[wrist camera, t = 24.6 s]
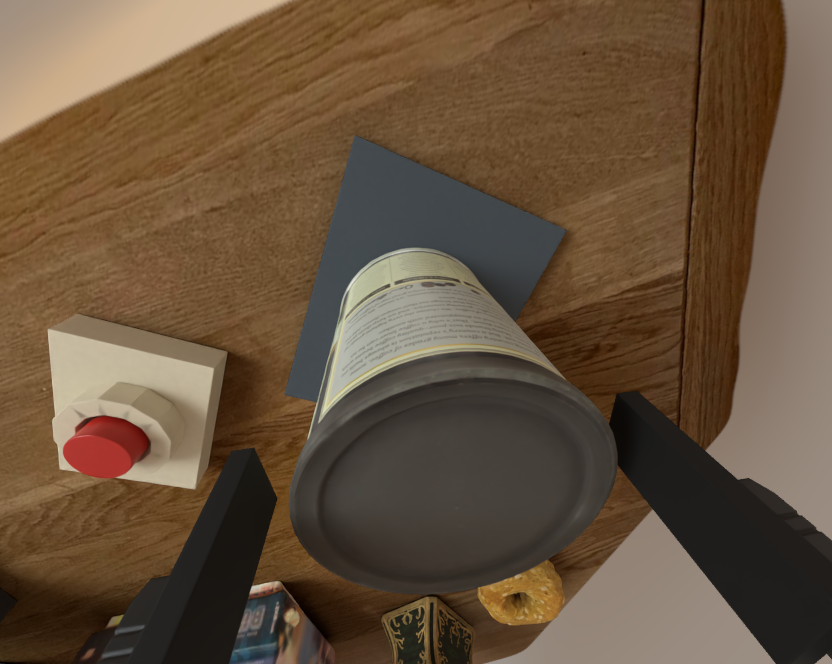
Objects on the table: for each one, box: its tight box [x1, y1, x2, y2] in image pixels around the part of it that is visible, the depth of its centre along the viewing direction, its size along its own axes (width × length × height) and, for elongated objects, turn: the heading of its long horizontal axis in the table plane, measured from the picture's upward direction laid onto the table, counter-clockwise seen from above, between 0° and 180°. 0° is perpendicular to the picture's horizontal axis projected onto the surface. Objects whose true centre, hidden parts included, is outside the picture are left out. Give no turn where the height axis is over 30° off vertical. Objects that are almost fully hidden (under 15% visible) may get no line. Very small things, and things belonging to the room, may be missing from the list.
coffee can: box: [289, 248, 618, 594], centre depth 16 cm, size 10×10×14 cm
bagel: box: [477, 560, 565, 625], centre depth 38 cm, size 10×11×5 cm
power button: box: [63, 416, 149, 478], centre depth 20 cm, size 4×4×2 cm
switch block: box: [48, 314, 228, 489], centre depth 23 cm, size 12×9×4 cm
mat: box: [285, 135, 567, 402], centre depth 23 cm, size 18×14×1 cm
